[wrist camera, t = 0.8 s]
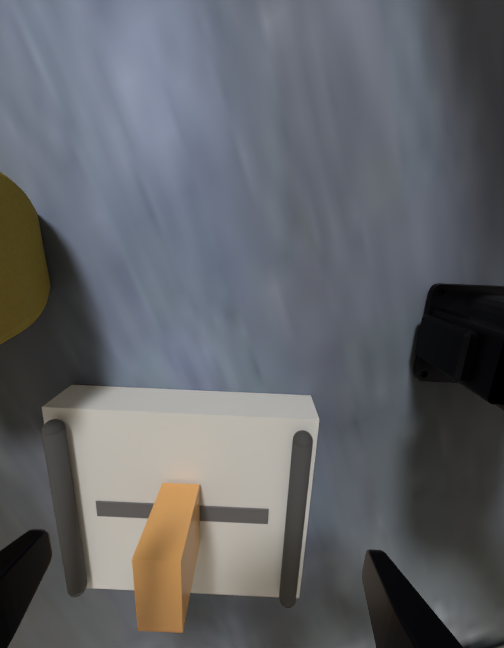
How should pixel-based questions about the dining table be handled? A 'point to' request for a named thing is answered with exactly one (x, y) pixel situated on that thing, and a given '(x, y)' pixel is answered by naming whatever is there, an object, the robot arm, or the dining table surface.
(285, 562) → the pair of mounting rails
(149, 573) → the handle
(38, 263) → the flower pot
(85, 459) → the box
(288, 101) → the dining table surface
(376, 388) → the dining table surface
